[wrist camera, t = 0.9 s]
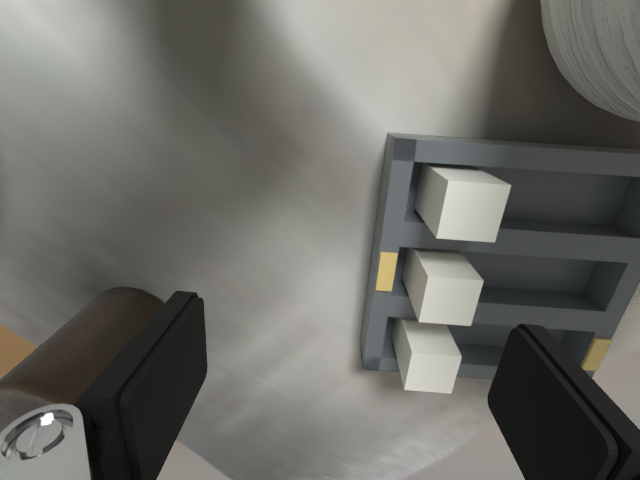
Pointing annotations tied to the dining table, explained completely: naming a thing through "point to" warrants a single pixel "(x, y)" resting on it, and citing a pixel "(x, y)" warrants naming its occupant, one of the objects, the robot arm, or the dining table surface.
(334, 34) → the dining table surface
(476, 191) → the tab
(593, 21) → the vase
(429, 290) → the tab middle
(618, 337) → the dining table surface
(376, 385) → the dining table surface
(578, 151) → the switch bank
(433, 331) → the tab
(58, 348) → the pillar candle
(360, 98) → the dining table surface
